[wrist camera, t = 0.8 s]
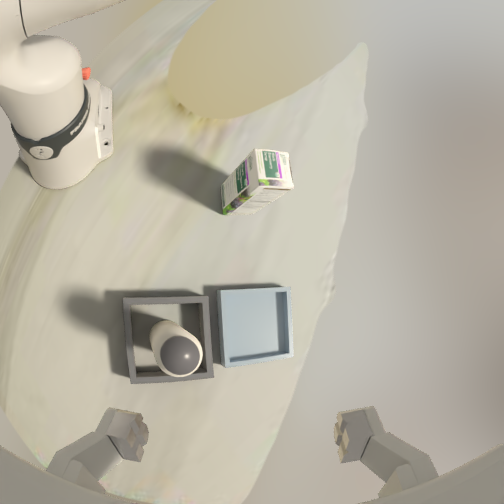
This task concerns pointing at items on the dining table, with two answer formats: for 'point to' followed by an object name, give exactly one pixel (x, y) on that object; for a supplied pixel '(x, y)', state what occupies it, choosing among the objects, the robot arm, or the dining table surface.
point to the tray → (254, 325)
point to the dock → (204, 337)
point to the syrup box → (257, 182)
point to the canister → (175, 349)
